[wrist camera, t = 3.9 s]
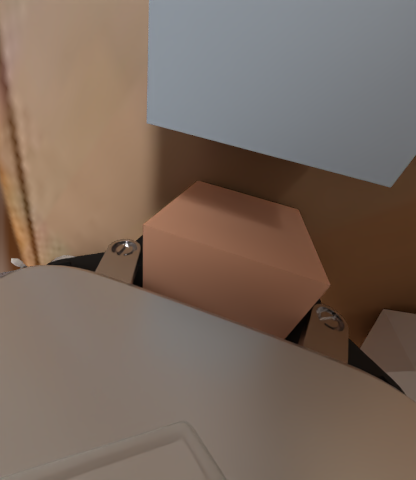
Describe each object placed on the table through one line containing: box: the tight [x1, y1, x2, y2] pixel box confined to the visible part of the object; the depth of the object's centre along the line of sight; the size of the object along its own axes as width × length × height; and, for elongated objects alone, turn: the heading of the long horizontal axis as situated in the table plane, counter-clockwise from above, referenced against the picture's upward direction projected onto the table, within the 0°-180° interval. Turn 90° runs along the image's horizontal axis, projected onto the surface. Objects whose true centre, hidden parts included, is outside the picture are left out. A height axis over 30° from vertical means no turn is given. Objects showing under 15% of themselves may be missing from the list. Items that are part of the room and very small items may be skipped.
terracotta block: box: [143, 181, 331, 339], centre depth 10 cm, size 6×6×6 cm
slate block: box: [147, 0, 416, 187], centre depth 5 cm, size 6×6×6 cm
